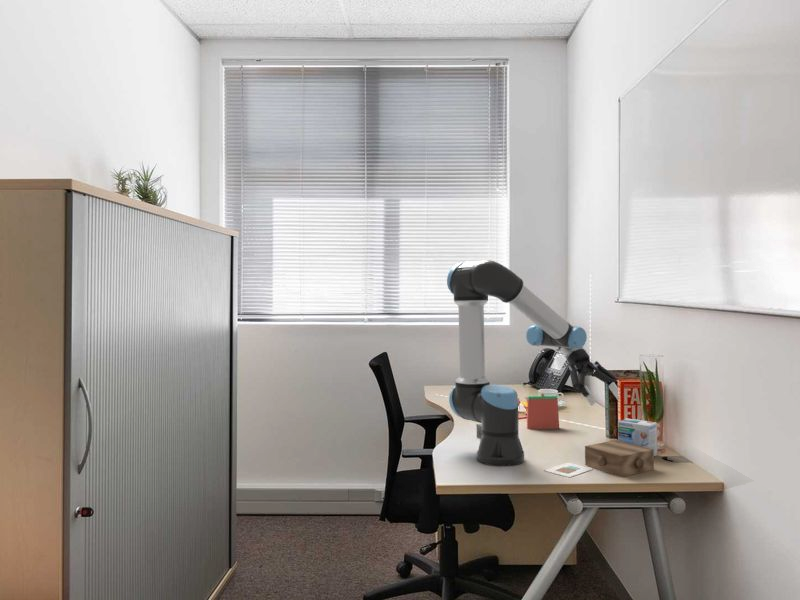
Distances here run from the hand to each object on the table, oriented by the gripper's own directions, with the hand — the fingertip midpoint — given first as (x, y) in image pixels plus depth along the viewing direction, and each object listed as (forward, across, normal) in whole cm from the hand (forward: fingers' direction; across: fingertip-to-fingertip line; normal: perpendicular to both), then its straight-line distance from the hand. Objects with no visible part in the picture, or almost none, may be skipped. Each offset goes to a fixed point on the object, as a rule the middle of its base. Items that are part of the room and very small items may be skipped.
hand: (608, 401), depth 212 cm
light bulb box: (+20, +1, -2) cm, 20 cm away
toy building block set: (-22, -8, -45) cm, 50 cm away
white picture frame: (+20, +33, -1) cm, 38 cm away
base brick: (+25, +18, +3) cm, 30 cm away
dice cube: (-12, +28, -34) cm, 46 cm away
